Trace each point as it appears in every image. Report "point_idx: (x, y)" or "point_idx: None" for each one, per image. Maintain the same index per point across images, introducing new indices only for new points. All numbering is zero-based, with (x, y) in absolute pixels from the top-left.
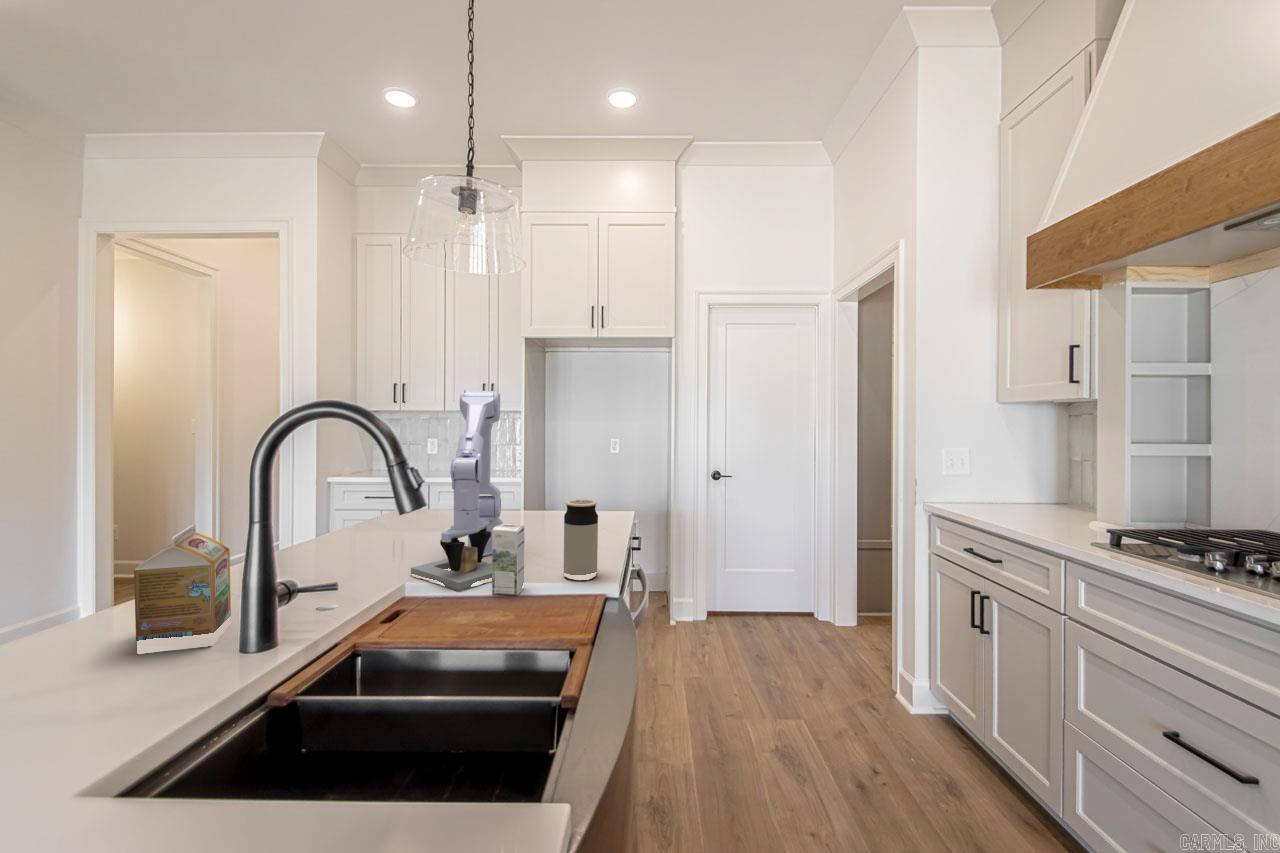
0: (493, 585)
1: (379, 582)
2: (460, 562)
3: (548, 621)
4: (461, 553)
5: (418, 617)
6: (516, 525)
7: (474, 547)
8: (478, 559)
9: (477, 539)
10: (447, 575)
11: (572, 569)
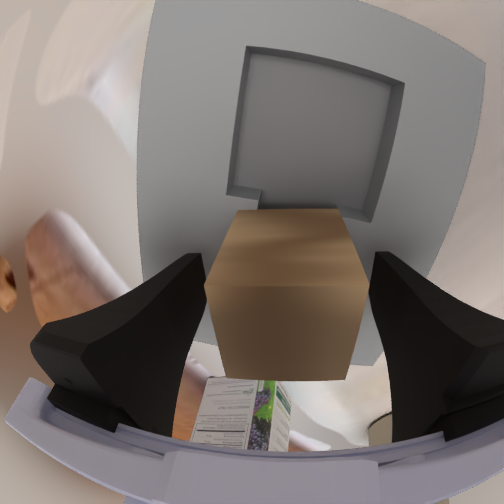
0: (204, 398)
1: (71, 10)
2: (193, 330)
3: (185, 440)
4: (179, 376)
5: (46, 316)
6: None
7: (343, 367)
8: (373, 296)
9: (413, 387)
10: (170, 244)
11: (370, 446)
